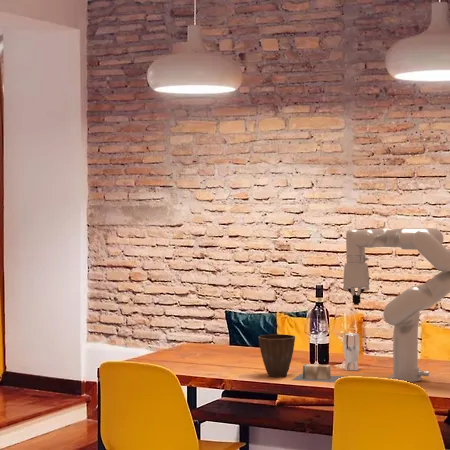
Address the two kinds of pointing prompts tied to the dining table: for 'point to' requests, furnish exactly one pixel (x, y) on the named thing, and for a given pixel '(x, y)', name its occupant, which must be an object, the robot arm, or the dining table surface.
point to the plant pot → (277, 353)
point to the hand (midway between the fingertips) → (356, 304)
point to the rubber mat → (332, 379)
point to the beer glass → (351, 351)
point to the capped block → (316, 371)
